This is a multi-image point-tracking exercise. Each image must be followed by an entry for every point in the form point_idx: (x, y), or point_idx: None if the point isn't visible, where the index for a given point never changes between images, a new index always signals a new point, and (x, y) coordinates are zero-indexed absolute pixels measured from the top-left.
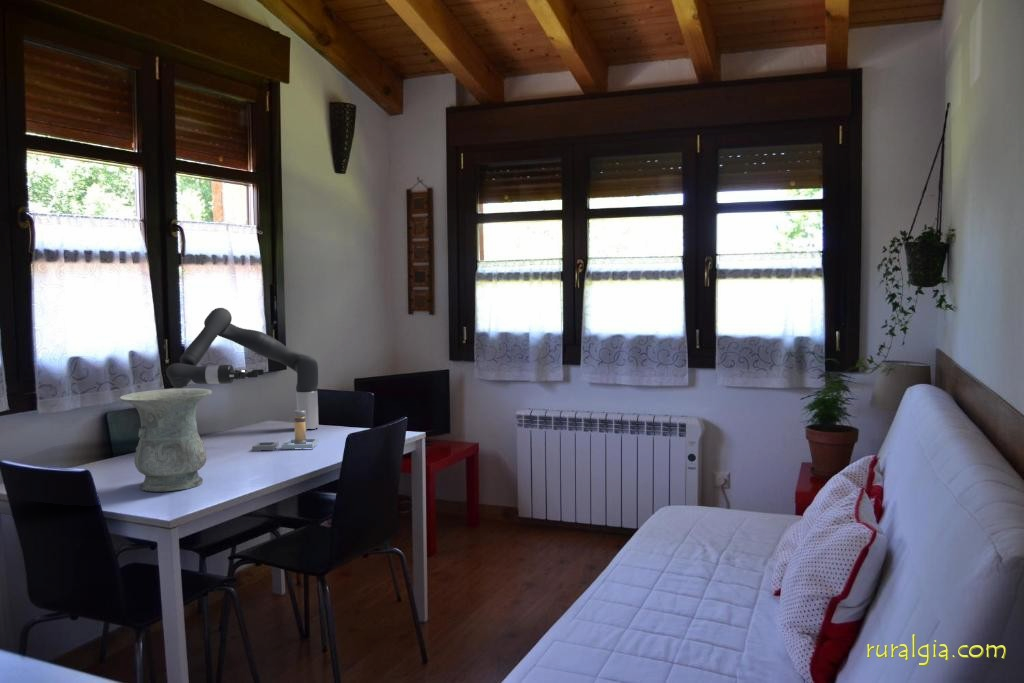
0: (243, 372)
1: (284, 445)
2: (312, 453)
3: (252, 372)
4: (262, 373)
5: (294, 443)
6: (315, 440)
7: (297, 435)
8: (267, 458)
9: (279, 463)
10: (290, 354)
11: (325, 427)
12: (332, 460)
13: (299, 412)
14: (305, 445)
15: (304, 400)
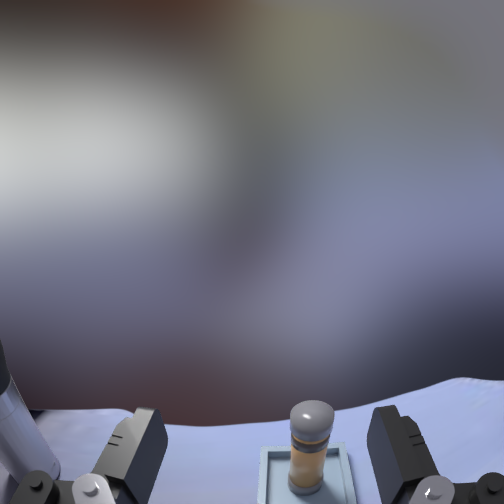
0: (496, 475)
1: (355, 501)
2: None
3: (407, 438)
4: (164, 439)
5: (311, 491)
6: (290, 448)
7: (323, 467)
8: None
9: (488, 447)
10: None
11: None
12: (435, 386)
13: (332, 412)
14: (347, 456)
15: (14, 416)
